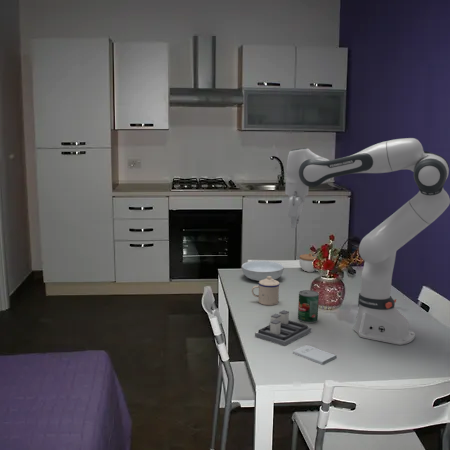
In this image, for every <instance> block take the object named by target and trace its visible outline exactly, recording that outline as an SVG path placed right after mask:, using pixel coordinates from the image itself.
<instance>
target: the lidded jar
mask: <svg viewBox="0 0 450 450" xmlns="http://www.w3.org/2000/svg"><path fill="white" fill-rule="evenodd" d="M298 257H299V266H300V268H301V269H302V271H303V270H304V271H303V272H305V271H308V272H307V273H312V272H311V271H314V269H313V265H312V262H313V260H314V259H315V258H316V256H315V257H313V256H312V253H311V252H309V253H303V254H300V255H299V256H298ZM314 272H315V271H314Z"/></svg>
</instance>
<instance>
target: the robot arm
mask: <svg viewBox="0 0 450 450" xmlns="http://www.w3.org/2000/svg"><path fill="white" fill-rule="evenodd" d="M401 170H409V171H411V172H413V178H414V179H413V180H414V182H415V184H416V185H417V188H418V190H419V191H418V192H417V194H415V195H414V196H413V197H412V198H411V199H409V200H408V201H407V202H405V203H404V204H403V205H402V206H401V207H399V208H398V209H397V210H396V211H395V212H393V214H391V215H390V216H389V217H387V218H386V219H384V220H383V222H381V223H380V224H378V225H377V226H375V228H374V229H372V230H371V231H370V232H369V233H367V234H365V236H364V237H363V238H362V239H361V241H360V243H359V246H358V252H359V253H358V254H359V256H360V258H361V259H362V260H363V261H364V264H363V267H362V271H361V275H360V290H359V293H358V298H357V299H358V300H357V307H358V308H357V311H358V312H357V316H356V318H355V319H356V320H355V322H354V326H353V327H352V328H353V330H354V332H356V333H357V335H358V336H359V337H360V338H364V339H369V340H373V341H378V342H384V343H387V344H388V343H389V344H392V345H398V346H399V345H400V346H402V345H403V346H404V345H407V344H409V343H411V342H412V341H414V340H415V338H416V334H415V332H414V331H412V330H410V324H409V320H408V318H407V317H406V316H405V315H404V314H402V313H401V312H400V311H399V309H397V308H396V307H395V303H397V298H395V299H394V298H392V296H391V292H392V281H393V280H392V279H393V272H394V267H395V262H396V256H397V251H398V250H399V249H401V248H402V247H404V245H406V244H407V243H408V242H410V241H411V240H412V239H413V238H415V237H416V236H418V234H420V233H421V232H422V231H424V230H425V229H426V228H427V227H429V226H430V225H431V224H432V223H434V222H435V221H436V220H437V219H438V218H439V217H440V216H441V215H443V213H444V212H445V211H446V210H447V208H448V207H449V206H450V195H449V194H448V192H447V191H446V190H445V189H444V185H445V183H446V181H447V179H448V177H449V172H450V167H449V163H448V161H447V160H446V159H445V157H443V156H442V155H440V154H437V153H433V152H431V151H430V152H429V151H426V150H424V147H423V145H422V143H421V142H420V141H419V139H417V138H414V137H408V138H407V137H406V138H396V139H395V138H394V139H391V140H386V141H382V142H381V141H380V142H378V143H376V144H372V145H370V146H368V147H366V148H364V149H362V150H360V151H358V152H356V153H354V154H351V155H347V156H344V157H339V158H335V159H329V158H326V157H323V156H320V155H319V154H316V153H315V152H313V151H312V150H310V148H307V147H300V148H294V149H291V150H290V151H289V152H288V155H287V161H286V170H285V171H286V180H285V191H284V192H285V193H284V194H285V195H286V196H288V198H287V199H288V211H287V212H288V213H287V217H288V218H289V219H290V228H291V229H296V227H297V225H298V224H300V216H301V213H302V211H303V210H304V206H305V200H306V199H305V198H306V196H309V191H310V190H309V189H310V188H314V187H318V186H320V185H323V184H325V183H327V182H329V181H331V180H332V179H333V178H337V177H342V176H343V177H344V176H347V175H350V174H351V175H352V174H384V173H391V172H392V173H393V172H397V171H401Z"/></svg>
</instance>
